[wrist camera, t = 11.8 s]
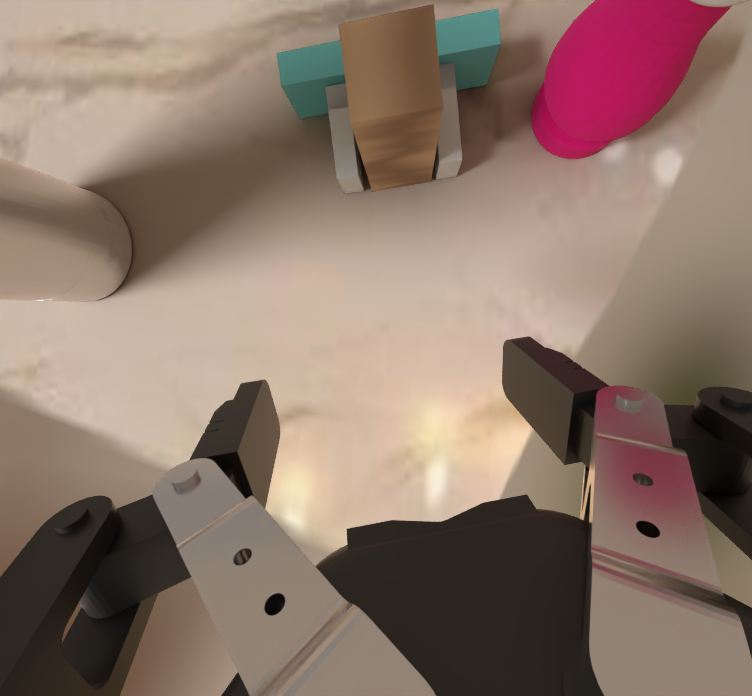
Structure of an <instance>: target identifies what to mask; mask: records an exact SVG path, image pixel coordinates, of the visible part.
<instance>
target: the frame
mask: <svg viewBox="0 0 752 696" xmlns="http://www.w3.org/2000/svg"><path fill="white" fill-rule="evenodd" d="M439 67H440V78H441V88H442V98H443V112H442V118H441V124H440V130H439V136H438V142H437V148H436V154H435V160H434V162H435V172H436V179H443V178H449V177H456V176H457V174H458V171H459V168H460V165H461V162H462V160H463V159H462V148H461V137H460V125H459V114H458V103H457V92H456V80H455V69H454V62H453V63H448V64H443V65H439ZM325 89H326V97H327V105H328V113H329V121H330V129H331V137H332V145H333V153H334V162H335V170H336V178H337V181H338V183H339V185H340V186H341V188H342V190H343V192H344V193H345V194H346V193H353V192H359V191H364V188H363V179H362V170H361V162H360V153H359V148H358V145H357V142H356V139H355V136H354V133H353V129H352V126H351V123H350V114H349V106H348V98H347V90H346V83H342V84H337V85H332V86H327V87H325Z"/></svg>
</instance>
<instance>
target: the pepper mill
mask: <svg viewBox="0 0 752 696" xmlns="http://www.w3.org/2000/svg"><path fill="white" fill-rule="evenodd" d="M746 1H748V0H595V1H594V2H593V3H592V4H591V5H590V6H589V7H588V8H587V9H586V10H584V11H583V12H582V13H581V14H580V15H579V16H578V17H577V18H576V19H575V20H574V21H573V23H572V24H571V25H570V27H569V28H568V30H567V31H566V32H565V34H564V35H563V36H562V38H561V39H560V41H559V42H558V44H557V45H556V47H555V49H554V51H553V53H552V55H551V58H550V60H549V63H548V66H547V70H546V75H545V81H544V83H543V85H542V87H541V88H540V90H539V92H538V94H537V96H536V98H535V100H534V103H533V108H532V126H533V130H534V133H535V135H536V138H537V139H538V141H539V142H540V144H541V145H542V146H543V147H544V148H545V149H546V150H548V151H549V152H551V153H552V154H554V155H557V156H559V157H562V158H568V159H578V158H583V157H587V156H590V155H592V154H594V153H596V152H598V151H600V150H601V149H603V148H604V147H605V146H606V145H608V144H609V143H610V142H611V141H612V140H615V139H618V138H621V137H624V136H626V135H628V134H630V133H632V132H634V131H635V130H637V129H638V128H640V127H641V126H643V125H644V124H646V123H647V122H648V121H649V120H650V119H651V118H652V117H653V116H654V115H655V114H656V113H658V112H659V111H660V110H661V109H662V108H663V107H664V105H665V104H666V103H667V102H668V101H669V100H670V98H671V97H672V95H673V94H674V93H675V91H676V90H677V88H678V87H679V85H680V84H681V82H682V81H683V79H684V77H685V75H686V73H687V71H688V69H689V67H690V65H691V62H692V60H693V57H694V55H695V53H696V50H697V48H698V45H699V43H700V42H701V40H702V39H703V37H704V36H705V35H706V33H707V32H708V31H709V30H710V29H711V27H712V26H713V25H714V24H715V23H716V22H717V21H718V20H719V19H720V18H721V17H722V16H723V15H724V14H725V13H726V12H727V11H728V10H729V9H730V7H732V6H733V5H736V4H740V3H743V2H746Z"/></svg>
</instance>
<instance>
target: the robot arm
mask: <svg viewBox="0 0 752 696" xmlns="http://www.w3.org/2000/svg"><path fill="white" fill-rule="evenodd" d="M131 257H132V244H131V237H130V233H129V230H128V227H127V225H126V223H125V221H124V219H123V217H122V215H121V214H120V213H119V211H118V210H117V209H116V207H115V206H113V205H112V204H111V203H110V202H109V201H108V200H107V199H105V198H103V197H102V196H100V195H98V194H96V193H94V192H91V191H88V190H85V189H83V188H80V187H77V186H75V185H72V184H69V183H66V182H64V181H61V180H58V179H56V178H53V177H50V176H48V175H45V174H43V173H40V172H37V171H35V170H32V169H29V168H26V167H24V166H21V165H18V164H16V163H13V162H10V161H7V160H5V159H2V158H0V300H33V301H69V302H89V301H97V300H99V299H102V298H105V297H107V296H108V295H110V294H111V293H113V292H114V291H115V290H116V289H117V288H118V287H119V286H120V285H121V284H122V282H123V280H124V279H125V277H126V275H127V273H128V270H129V267H130V264H131ZM502 384H503V389H504V392H505V395H506V397H507V398H508V400H509V401H510V402H511V403H512V404H513V405H514V407H515V408H516V409H517V410H518V411H519V412H520V414H521V415H522V416H523V417H524V418H525V419H526V421H527V422H528V423H529V424H530V425H531V426H532V428H533V429H534V430H535V431H536V432H537V433H538V435H539V436H540V437H541V438H542V439H543V440H544V442H545V443H546V444H547V445H548V446H549V447H550V448H551V449H552V451H553V452H554V453H555V454H556V456H557V457H558V458H559V459H560V460H561V461H562V463H563V464H564V465H567V464H572V463H578V462H583V463H584V464H585V470H584V477H583V488H582V501H581V513H580V519H579V518H577V517H574V516H571V515H568V514H564V513H560V512H556V511H550V510H543V509H536V508H535V506H534V505H533V503H532V502H531V500H530V499H529V497H528V496H527V495H522V496H517V497H511V498H506V499H501V500H496V501H490V502H485V503H482V504H480V505H478V506H476V507H473V508H471V509H469V510H467V511H465V512H463V513H461V514H458V515H456V516H454V517H452V518H450V519H448V520H445V521H442V522H423V521H397V520H391V521H386V522H381V523H375V524H370V525H365V526H360V527H355V528H349V529H347V542H348V545H346V546H344V547H342V548H340V549H338V550H336V551H335V552H333V553H331V554H330V555H329V556H327V557H326V558H324V559H323V560H322V561H321V562H319V563H318V564H317V565H316V566H314V564H312V562H311V561H310V560H309V559H308V558H307V556H306V555H305V554H304V553H303V552H302V551H301V550H300V549H299V547H298V546H297V545H296V544H295V543H294V542H293V540H292V539H291V538H290V537H289V536H288V535H287V534H286V533H285V531H284V530H283V529H282V528H281V527H280V526H279V525H278V523H277V522H276V521H275V520H274V519H273V518H272V517H271V515H270V514H269V513H268V512H267V511H266V510H265V507H266V502H267V497H268V492H269V487H270V483H271V478H272V473H273V468H274V463H275V458H276V454H277V449H278V444H279V439H280V425H279V420H278V416H277V413H276V409H275V406H274V402H273V399H272V395H271V392H270V389H269V385H268V383H267V381H266V380H259V381H253V382H247V383H242V384H241V385H240V387H239V389H238V391H237V393H236V395H235V397H234V399H233V400H229V401H226V402H225V403H224V404H223V405H221V406H220V407H219V408H218V409H217V410H216V411H215V412H214V414H213V416H212V418H211V420H210V424H208V426H207V428H206V429H205V433H203V435H202V437H201V439H200V441H199V443H198V445H197V447H196V448H195V450H194V452H193V454H192V456H191V458H190V460H189V461H187V462H184V463H182V464H180V465H178V466H176V467H174V468H172V469H171V470H170V471H168V472H167V473H166V474H164V475H163V476H162V478H160V479H159V481H158V482H157V483H156V485H155V487H154V490H153V495H150V496H148V497H146V498H143V499H140V500H138V501H135V502H133V503H130V504H128V505H125V506H123V507H120V508H118V509H116V507H115V506H114V504H113V502H112V501H111V499H110V498H108V497H106V496H93V497H89V498H85V499H83V500H80V501H78V502H75V503H73V504H71V505H69V506H67V507H66V508H64V509H63V510H61V511H59V512H58V513H56V514H55V515H54V516H53V517H51V518H50V519H49V520H48V521H46V522H45V523H44V524H43V525H42V526H41V527H40V529H39V530H38V531H37V532H36V533H35V535H34V536H33V537H32V539H31V540H30V541H29V542H28V543H27V545H26V546H25V547H24V548H23V550H22V551H21V552H20V553H19V555H18V556H17V557H16V558H15V560H14V561H13V562H12V563H11V565H10V566H9V567H8V568H7V570H6V571H5V572H4V573H3V575H2V576H1V577H0V696H120V694H121V691H122V688H123V686H124V683H125V680H126V678H127V675H128V672H129V669H130V667H131V664H132V662H133V659H134V656H135V653H136V651H137V648H138V646H139V642H140V640H141V637H142V635H143V632H144V629H145V627H146V624H147V621H148V619H149V616H150V613H151V611H152V608H153V605H154V603H155V600H156V597H157V595H158V593H159V592H161V591H163V590H165V589H167V588H169V587H172V586H174V585H176V584H178V583H180V582H182V581H184V580H186V579H188V578H190V577H192V579H193V581H194V583H195V585H196V587H197V589H198V591H199V593H200V595H201V597H202V599H203V601H204V603H205V605H206V607H207V609H208V611H209V613H210V615H211V617H212V620H213V622H214V624H215V626H216V628H217V630H218V632H219V634H220V636H221V638H222V640H223V642H224V644H225V646H226V648H227V650H228V652H229V654H230V656H231V658H232V660H233V662H234V664H235V666H236V668H237V670H238V673H237V674H236V675H235V677H234V679H233V680H232V681H231V683H230V684H229V685H228V687H227V688H226V690H225V691H224V693H223V694H222V695H221V696H752V608H751V607H749V606H747V605H745V604H743V603H741V602H740V601H737V600H736V599H734V598H732V597H730V596H728V595H726V594H724V593H722V589H721V586H720V582H719V578H718V574H717V570H716V566H715V562H714V558H713V555H712V551H711V547H710V544H709V539H708V535H707V531H706V527H705V523H704V519H703V515H704V516H705V517H707V518H708V519H709V520H710V521H711V522H712V523H713V524H714V525H715V526H716V527H717V528H718V529H719V530H720V531H722V532H723V533H724V534H725V535H726V536H727V537H728V538H729V539H730V540H731V541H732V542H733V543H734V544H735V545H736V546H737V547H739V548H740V549H741V550H742V551H743V552H744V553H745V554H746V555H747V556H748V557H749V558H750V559H751V560H752V392H748V391H744V390H740V389H735V388H728V387H708V388H705V389H702V390H700V391H699V393H698V395H697V398H696V401H695V405H694V406H693V405H663V403H662V401H661V400H660V399H659V398H657V397H656V396H655V395H653V394H651V393H649V392H647V391H644V390H641V389H638V388H634V387H629V386H609V385H607V384H606V383H604V382H603V381H601V380H600V379H599V378H597V377H596V376H594V375H593V374H591V373H590V372H588V371H587V370H586V369H582V367H581V366H580V365H578V364H577V363H576V362H573V360H571V359H570V358H568V357H567V356H566V355H564V354H563V353H560V352H557V351H555V350H552V349H549V348H545V347H543V346H542V345H541V344H539V343H538V342H536V341H535V340H534V339H532V338H531V337H522V338H516V339H510V340H506V341H505V342H504V346H503V371H502ZM702 514H703V515H702ZM78 603H79V604H80V605H81V607H82V608H81V609H80V611H79V613H78V615H77V617H76V619H75V621H74V622H73V624H72V626H71V628H70V630H69V632H68V633H67V635H66V637H65V639H64V641H63V643H62V637H63V633H64V630H65V627H66V625H67V623H68V621H69V619H70V617H71V616H72V614H73V611H74V610H75V608H76V606H77V605H78Z"/></svg>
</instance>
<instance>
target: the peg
mask: <svg viewBox="0 0 752 696" xmlns="http://www.w3.org/2000/svg"><path fill="white" fill-rule="evenodd" d="M339 32H340V41H341V49H342V57H343V65H344V73H345V82H346V90H347V98H348V106H349V114H350V123H351V126H352V129H353V133H354V136H355V139H356V142H357V145H358V148H359V151H360V155H361V158H362V161H363V164H364V167H365V170H366V173H367V176H368V180H369V183H370V186H371V189H372V191H376V190H382V189H389V188H395V187H401V186H407V185H414V184H420V183H426V182H431V178H432V172H433V166H434V160H435V154H436V148H437V142H438V136H439V130H440V124H441V118H442V112H443V98H442V88H441V78H440V67H439V57H438V47H437V36H436V26H435V16H434V5H433V4H432V5H428V6H423V7H418V8H414V9H409V10H404V11H399V12H395V13H390V14H385V15H381V16H376V17H371V18H367V19H362V20H357V21H353V22H348V23H343V24H339Z"/></svg>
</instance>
